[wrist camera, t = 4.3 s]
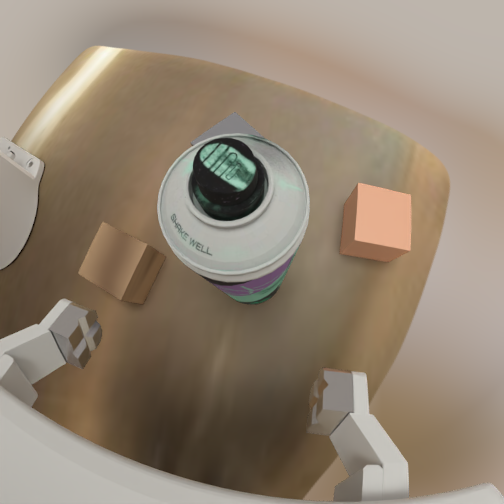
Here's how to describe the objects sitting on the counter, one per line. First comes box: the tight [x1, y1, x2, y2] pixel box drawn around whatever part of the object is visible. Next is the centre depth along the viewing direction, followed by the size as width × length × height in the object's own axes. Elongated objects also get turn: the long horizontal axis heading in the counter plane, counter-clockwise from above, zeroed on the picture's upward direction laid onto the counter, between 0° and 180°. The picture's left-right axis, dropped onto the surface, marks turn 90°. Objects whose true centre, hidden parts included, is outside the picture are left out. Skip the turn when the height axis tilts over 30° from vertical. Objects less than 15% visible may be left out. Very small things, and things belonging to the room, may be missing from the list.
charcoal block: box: [191, 112, 264, 146], centre depth 27 cm, size 5×5×5 cm
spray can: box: [157, 133, 310, 304], centre depth 18 cm, size 6×6×20 cm
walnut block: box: [78, 222, 166, 304], centre depth 25 cm, size 5×5×5 cm
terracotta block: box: [340, 183, 411, 262], centre depth 25 cm, size 5×5×5 cm
